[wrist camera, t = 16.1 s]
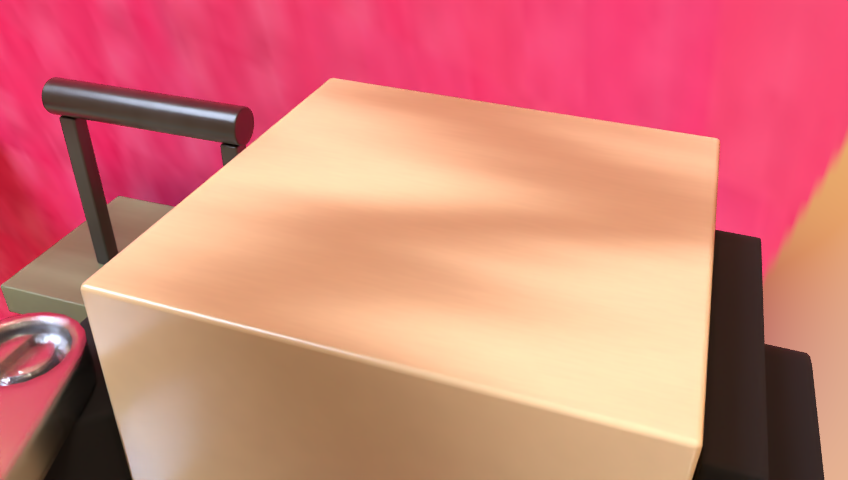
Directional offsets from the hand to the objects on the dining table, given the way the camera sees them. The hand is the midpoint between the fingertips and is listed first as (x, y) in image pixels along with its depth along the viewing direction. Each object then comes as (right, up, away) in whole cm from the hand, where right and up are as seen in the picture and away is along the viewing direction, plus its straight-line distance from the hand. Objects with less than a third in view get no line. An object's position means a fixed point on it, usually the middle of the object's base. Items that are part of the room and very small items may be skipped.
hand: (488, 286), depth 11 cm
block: (0, 0, 0) cm, 0 cm away
